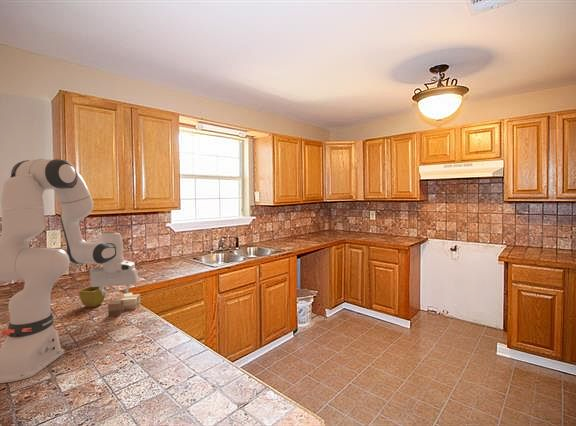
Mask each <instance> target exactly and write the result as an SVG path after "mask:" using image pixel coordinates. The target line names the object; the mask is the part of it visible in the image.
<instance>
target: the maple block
mask: <svg viewBox="0 0 576 426" xmlns="http://www.w3.org/2000/svg"><path fill="white" fill-rule="evenodd" d="M120 300H123V308H124V310H132V309H134V308H135V309H137V308H138V307H139V306H140V305H141V293H138V294H137V293H136V294H132V295H125V296H124V295H123V297H122V298H121V299H120ZM138 305H139V306H138Z"/></svg>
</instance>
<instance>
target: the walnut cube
mask: <svg viewBox="0 0 576 426" xmlns="http://www.w3.org/2000/svg"><path fill="white" fill-rule="evenodd" d="M107 311H108V312H107V313H108V317H120V316H122V315H123V313H124V311H125V309H124V308H123V300H121V299H115V300H112V299H111V301H109V302H108V303H107Z"/></svg>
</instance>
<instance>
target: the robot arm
mask: <svg viewBox="0 0 576 426" xmlns="http://www.w3.org/2000/svg"><path fill="white" fill-rule="evenodd" d="M76 169H77V168H76V167H75V166H74V165H73V164H72V163H71V162H69V161H68V160H66V159H65V160H64V159H60V158H59V159H58V158H56V159H55V158H54V159H50V158H49V159H45V158H37V159H31V160H28V159H27V160H21V161H19V162H17V163H16V164H15V165H14V166H13V167H12V168H11V172H10V176H9V177H8V178H7V179H6V180H4V183H3V186H2V192H1V198H0V199H1V200H0V201H1V203H0V204H1V205H0V206H1V234H0V282H11V281H13V282H14V281H24V286H23V289H22V290H19V291H18V292H16V293H15V294H14V295H12V297H10V299H9V301H8V313H9V322H8V326H7V328H3V329H1V332H0V333H1V337H3V336H6V338H5V340H4V342H2V344H1V347H0V384H5V383H11V382H12V383H13V382H19V381H21V380H26V379H29V378H32V377H33V376H36V375H37V374H38V373H39V372H41V371H42V370H43V369H45V368H47V366H49V365H50V364H51V363H53V362H55V360H57V359H58V358H60V357H61V356H63V355H64V354H65V353H66V351H65V349H63V348H62V347H61V342H60V336H59V332H58V330H57V329H56V328H55V327H54V316H53V313H52V309H51V308H52V307H51V294H52V290H53V286H54V285H55V284H56V282H57V280H58V279H59V278H61V277H62V276H63V275H64V274H65V273H66V272H67V271H68V269H69V267H70V262H71V263H72V264H75V265H77V264H78V265H80V264H81V265H82V264H91V265H92V264H93V265H101V264H102V266H93V267H92V268H90V269H89V276H90V277H89V285H90V286H91V287H99V289H100V290H101V292H102V295H105V296H107V295H108V290H106V291H105V290H104V288H103V287H104V286H106V287H109V286H110V287H113V286H123V285H124V286H125V287H126V288H125V289H124V290H123V295H124V294H127V293H129V289H130V287H131V286H132V285H135V284H137V283H138V282H139V274H138V273H139V272H138V270H137V268H136V263H135V262H134V261H129V260H126V259H125V258H124V254H123V253H124V243H123V238H122V235H121V233H119V232H109V231H106V232H105V231H104V232H102V234H101V236H100V237H99V238H98V239H97V240H95V241H86V240H84V239H83V236H82V232H81V228H80V221H81V220H83V219H84V218H86V217H88V216H89V215H90V214H91V213H92V212H93V210H94V200H93V197H92V195H91V193H90V192H91V191H90V189H89V187H88V185H87V182H85V180H84V178H83V177H82V175H81V174H80V173H78V172H77V170H76ZM45 190H53V191H54V192H55V193H56V197H57V199H58V202H59V204H60V209H61V212H60V217H59V219H60V223H61V229H62V232H63V235H64V239H65V243H66V251H65V249H61V248H55V247H54V248H53V247H30V243H31V242H32V241H31V240H33V238H35V237H37V236H39V235H41V233H43V231H44V230H45V228H46V224H45V222H46V221H45V206H44V198H43V194H44V193H45ZM90 286H89V287H90Z"/></svg>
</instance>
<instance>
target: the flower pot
mask: <svg viewBox="0 0 576 426" xmlns="http://www.w3.org/2000/svg"><path fill="white" fill-rule="evenodd" d="M103 288H104V290H105V291H107V286H104V287H103ZM78 294H79V299H80V302H81V303H82V304H83V306H84V307H86V308H87V307H88V308H95V307H97V306H100V305H101V304H102V303H103V302H104V300H105V298H106V295H102V292H101V290H100V289H99V287H91V286H88V287H85V288H83V289H81V290H78Z"/></svg>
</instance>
